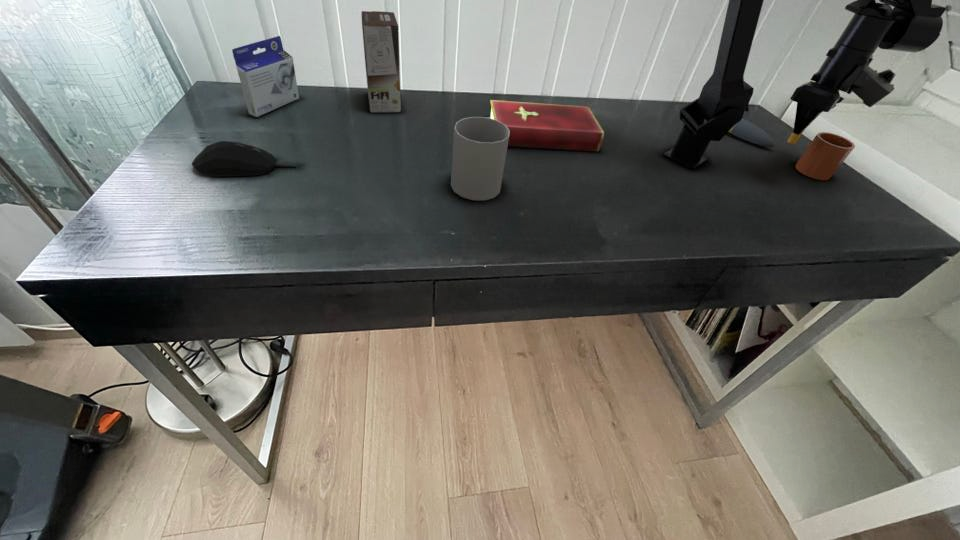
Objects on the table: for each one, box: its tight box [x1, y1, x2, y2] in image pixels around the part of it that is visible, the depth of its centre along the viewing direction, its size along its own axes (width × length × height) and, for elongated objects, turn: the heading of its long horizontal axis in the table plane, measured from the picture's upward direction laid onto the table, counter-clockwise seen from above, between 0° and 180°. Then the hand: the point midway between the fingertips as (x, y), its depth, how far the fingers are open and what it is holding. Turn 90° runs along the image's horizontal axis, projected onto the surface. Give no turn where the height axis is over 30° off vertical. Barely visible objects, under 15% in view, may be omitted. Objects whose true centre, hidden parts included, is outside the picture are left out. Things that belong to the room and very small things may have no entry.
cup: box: [450, 116, 510, 201], centre depth 66 cm, size 8×8×10 cm
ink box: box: [231, 35, 300, 118], centre depth 78 cm, size 12×2×12 cm, turn 155°
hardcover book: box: [487, 99, 605, 152], centre depth 84 cm, size 12×21×4 cm, turn 95°
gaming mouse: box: [191, 140, 297, 177], centre depth 66 cm, size 6×15×4 cm, turn 99°
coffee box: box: [361, 10, 402, 113], centre depth 83 cm, size 9×6×16 cm
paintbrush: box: [704, 118, 776, 148], centre depth 95 cm, size 20×5×5 cm, turn 48°
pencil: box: [786, 128, 807, 145], centre depth 81 cm, size 2×2×7 cm
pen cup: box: [794, 131, 856, 181], centre depth 84 cm, size 7×7×7 cm
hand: (797, 132), depth 82 cm, fingers closed on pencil, 1 cm apart
